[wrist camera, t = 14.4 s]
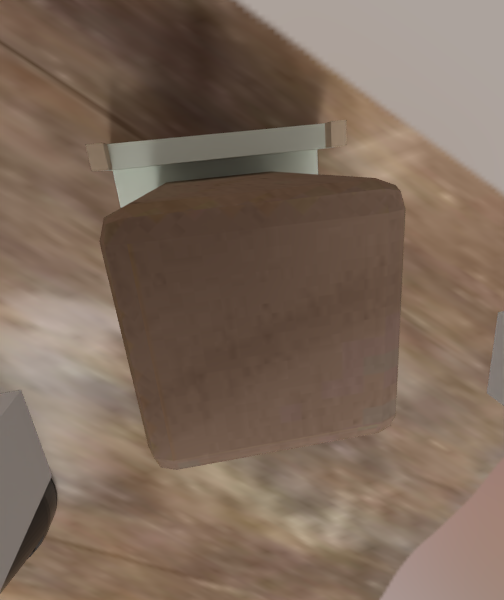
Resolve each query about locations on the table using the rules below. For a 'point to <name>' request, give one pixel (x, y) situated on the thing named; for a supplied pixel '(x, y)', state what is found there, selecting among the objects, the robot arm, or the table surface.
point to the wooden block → (259, 311)
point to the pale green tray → (213, 156)
